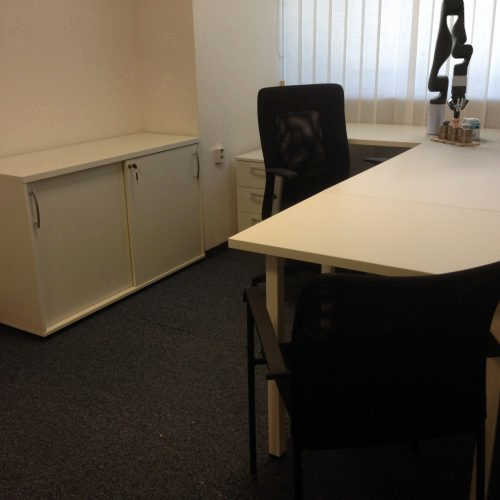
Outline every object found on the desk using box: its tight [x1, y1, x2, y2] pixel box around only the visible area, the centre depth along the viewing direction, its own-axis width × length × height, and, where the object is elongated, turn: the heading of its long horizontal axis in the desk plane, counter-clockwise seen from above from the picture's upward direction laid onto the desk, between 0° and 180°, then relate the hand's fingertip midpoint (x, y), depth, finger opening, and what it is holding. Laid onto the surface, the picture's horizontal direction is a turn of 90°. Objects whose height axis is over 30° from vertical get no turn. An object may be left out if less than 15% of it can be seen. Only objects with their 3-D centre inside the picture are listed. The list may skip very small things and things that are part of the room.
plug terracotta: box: [451, 117, 461, 128], centre depth 311 cm, size 4×4×9 cm
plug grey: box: [461, 123, 471, 130], centre depth 304 cm, size 4×4×9 cm
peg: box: [442, 119, 451, 126], centre depth 319 cm, size 4×4×9 cm
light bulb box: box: [462, 117, 482, 141], centre depth 324 cm, size 11×7×11 cm, turn 179°
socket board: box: [429, 125, 481, 148], centre depth 312 cm, size 25×12×8 cm, turn 21°
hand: (456, 118), depth 309 cm, fingers closed
